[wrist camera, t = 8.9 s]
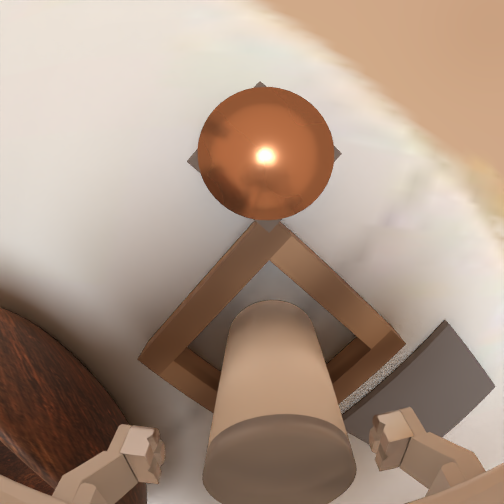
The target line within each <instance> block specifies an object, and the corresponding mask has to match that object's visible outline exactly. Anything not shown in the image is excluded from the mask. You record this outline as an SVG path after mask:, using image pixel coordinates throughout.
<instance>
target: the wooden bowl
mask: <svg viewBox="0 0 504 504" xmlns="http://www.w3.org/2000/svg"><path fill="white" fill-rule="evenodd" d="M121 424H125V425H129V424H128V423H127V421H126V419H125V417H124V415H123V414H122V412H121V411H120V409H119V408H118V406H117V405H116V403H115V402H114V401H113V399H112V398H111V396H110V395H109V394H108V393H107V391H106V390H105V389H104V388H103V386H102V385H101V384H100V383H99V382H98V380H97V379H96V378H95V377H94V376H93V375H92V374H91V373H90V371H89V370H88V369H87V368H86V367H85V366H84V365H83V364H82V363H81V362H80V361H79V360H78V359H77V358H76V357H75V356H74V355H72V354H71V353H70V352H69V351H68V350H67V349H66V348H65V347H63V346H62V345H61V344H60V343H59V342H58V341H56V340H55V339H54V338H53V337H51V336H50V335H49V334H48V333H46V332H45V331H43V330H42V329H41V328H39V327H38V326H36V325H35V324H33V323H32V322H30V321H28V320H27V319H25V318H23V317H21V316H19V315H17V314H16V313H13V312H11V311H8V310H6V309H3V308H0V475H2V476H5V477H7V478H9V479H11V480H13V481H15V482H18V483H20V484H22V485H25V486H27V487H30V488H32V489H34V490H37V491H40V492H42V493H45V494H48V495H50V496H52V495H53V493H54V491H55V489H56V487H57V485H58V483H59V481H60V480H61V478H62V476H63V475H64V474H66V473H68V472H70V471H71V470H73V469H75V468H76V467H78V466H80V465H81V464H83V463H85V462H86V461H88V460H90V459H91V458H93V457H95V456H96V455H98V454H100V453H101V452H103V451H107V450H108V448H109V446H110V444H111V442H112V440H113V437H114V435H115V433H116V431H117V429H118V427H119V426H120V425H121ZM115 504H147V490H146V483H145V482H138V483H137V484H136V485H135V486H134V487H133V488H132V489H131V490H129V491H128V492H127V493H126V494H125V495H124V496H123V497H122V498H120V499H119V500H118V501H117V502H116V503H115Z"/></svg>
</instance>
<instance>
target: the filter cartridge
mask: <svg viewBox="0 0 504 504" xmlns="http://www.w3.org/2000/svg"><path fill="white" fill-rule="evenodd" d="M355 475H356V463H355V460H354V456H353V453H352V449H351V446H350V442H349V439H348V435H347V432H346V429H345V425H344V422H343V418H342V415H341V412H340V408H339V405H338V402H337V399H336V395H335V392H334V389H333V386H332V382H331V379H330V376H329V373H328V370H327V366H326V363H325V360H324V357H323V354H322V351H321V348H320V344H319V341H318V338H317V335H316V332H315V329H314V326H313V324H312V321H311V320H310V318H309V317H308V315H307V314H306V313H305V312H304V311H303V310H302V309H300V308H299V307H297V306H295V305H293V304H291V303H288V302H285V301H279V300H267V301H261V302H257V303H255V304H252V305H250V306H248V307H246V308H245V309H244V310H242V311H241V312H240V313H239V314H238V315H237V316H236V317H235V319H234V320H233V322H232V324H231V326H230V329H229V333H228V339H227V344H226V349H225V355H224V360H223V365H222V371H221V376H220V382H219V387H218V392H217V398H216V403H215V409H214V414H213V420H212V425H211V431H210V436H209V442H208V447H207V453H206V459H205V464H204V470H203V484H204V486H205V488H206V490H207V491H208V493H209V494H210V495H211V496H212V497H213V498H214V499H216V500H217V501H219V502H220V503H222V504H327V503H329V502H331V501H333V500H334V499H336V498H337V497H339V496H340V495H341V494H343V493H344V492H345V491H346V490H347V489H348V488H349V486H350V485H351V484H352V482H353V480H354V478H355Z"/></svg>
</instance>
